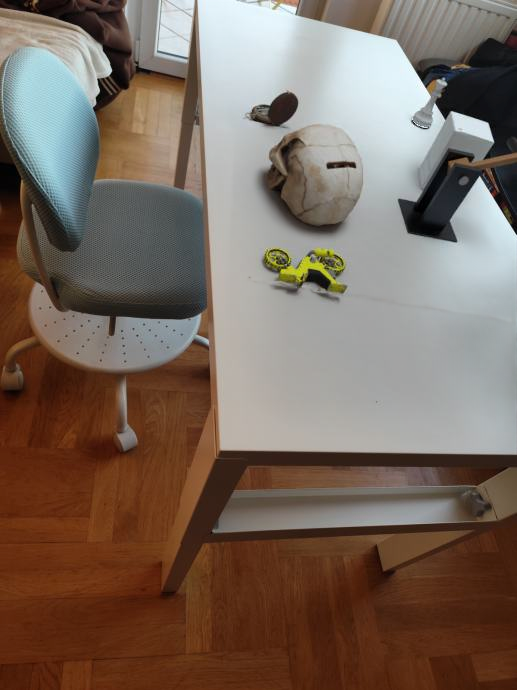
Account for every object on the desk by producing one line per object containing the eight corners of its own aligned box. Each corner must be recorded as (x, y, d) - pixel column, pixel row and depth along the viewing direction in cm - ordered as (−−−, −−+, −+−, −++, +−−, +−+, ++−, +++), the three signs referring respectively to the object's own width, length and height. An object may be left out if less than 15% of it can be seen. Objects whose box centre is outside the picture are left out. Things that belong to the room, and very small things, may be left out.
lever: (514, 146, 77) (516, 132, 75) (534, 179, 72) (537, 165, 70) (442, 162, 79) (442, 149, 77) (456, 195, 74) (457, 182, 72)
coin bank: (285, 155, 86) (314, 85, 76) (361, 214, 84) (402, 150, 73) (231, 190, 78) (255, 116, 67) (315, 257, 75) (354, 192, 65)
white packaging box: (454, 205, 90) (495, 143, 80) (417, 193, 90) (454, 129, 80) (451, 183, 95) (489, 122, 85) (415, 171, 94) (450, 109, 85)
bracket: (441, 213, 87) (482, 149, 78) (453, 247, 82) (500, 182, 72) (395, 204, 86) (431, 137, 76) (405, 237, 80) (445, 170, 70)
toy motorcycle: (346, 244, 69) (358, 281, 65) (337, 263, 72) (348, 299, 68) (266, 237, 66) (273, 275, 62) (259, 257, 69) (266, 295, 65)
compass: (270, 108, 96) (280, 70, 90) (292, 130, 93) (303, 92, 87) (236, 111, 92) (244, 72, 87) (258, 134, 89) (267, 95, 83)
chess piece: (413, 126, 106) (437, 80, 98) (409, 116, 109) (432, 70, 101) (431, 131, 107) (456, 85, 99) (427, 120, 109) (451, 75, 102)
